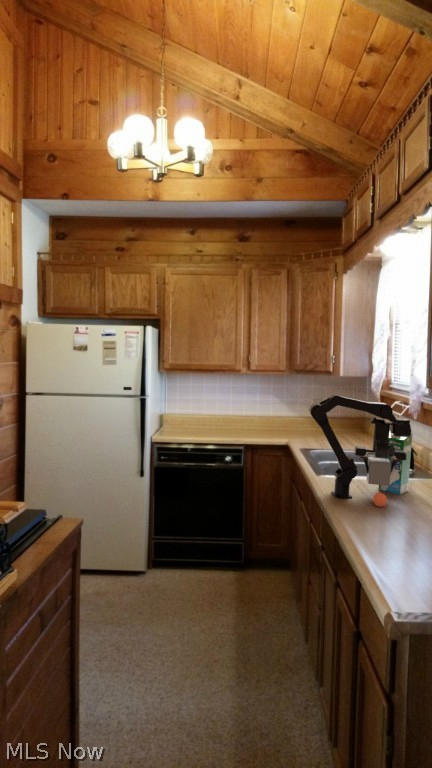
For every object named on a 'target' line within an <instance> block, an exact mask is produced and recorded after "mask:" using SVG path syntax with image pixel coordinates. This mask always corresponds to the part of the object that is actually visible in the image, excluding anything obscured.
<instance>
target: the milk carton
mask: <svg viewBox="0 0 432 768" xmlns="http://www.w3.org/2000/svg"><path fill="white" fill-rule="evenodd" d="M412 442H413V432H412V431H411V435H410V437H398V436H393V434H392V433H391V432H389V446H390V445H393V446H395V450H403V451H404V452H405V453H406V455H407V457H406V460H401V462H397V463H396V465H395V466H394V468H393V470H392V472H391V475H390V485H389V486H384V485H378V488H377V489H378V491H382V490H383V491H382V492H386V491H387V493H391V494H394V495H398V496H401V495H402V494H404V493H406V492H408V491H409V481H410V480H409V479H410V468H411V467H410V466H411V457H412V456H411V454H412V444H413V443H412ZM391 457H392V456H389V458H383V459H389V461H390V459H391ZM380 458H382V457H380Z"/></svg>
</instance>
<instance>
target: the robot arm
mask: <svg viewBox="0 0 432 768" xmlns="http://www.w3.org/2000/svg"><path fill="white" fill-rule="evenodd" d="M337 406H339V407H345V408H349V409H352V410H357V411H361V412H365V413H367V414H371V415H373V418H371V419H370V420H369V421H368V422H369V423H370V424H371V425H372V424H373V425H374V426H373V439H372V449H370V448H369V449H367V448H366V446H361V445H360V446H359V445H356V446H355V447H354V455H355V456H356V457H357V456H359V458H360V459H362V460H363V463H364V466H365V471H366V475H367V474H368V457H369V456H368V455H374V456H375V458H381V457H382V458H389V456H392V457H391V459H390V462H391V472H392V470H393V468H394V466H395V465H396V463H397V462H401V460H406V457H407V455H406V453H405V452H404V451H403V450H395V446H393V445H390V446H389V432H391V433H392V434H393V436H398V437H410V435H411V432H412V426H411V420H410V419H408V418H407V419H398V418H396V416H395V415H394V413H393V412H394V411H393V408H392V406H391V405H389V404H387V403H385V402H377V401H376V402H375V401H373V402H372V401H363V400H360V399H355V398H350V397H345V396H342V395H339V394H332V395H331V396H330V397H328V398H326V399H324V400H322V401H320V402H315V403H312V405H310V406H309V410H308V411H309V415H310V416H311V417H312V418H313V420H314V421H315V423H316V424H317V425H318V426H319V427H320V429H321V431H322V433H323V435H324V436H325V438H326V441H327V442H328V444H329V446H330V448H331V450H332V452H333V453H334V456H335V457H336V461H337V464H338V469H336V470H335V471H334V472H333V474H334V477H335V480H334V491H330V493H331V494H332V495H333V496H334V497H335V498H336V499H352V498H353V496H352V495H351V494H350V489H351V488H350V486H351V484H352V481H353V479H355V478H356V477H357V475H358V465H357V464H356V462H355V461H354V458H353V457H352V455H348V456H347V454H346V453H345V451H344V449H343V448H342V445H341V443H340V442H339V440H338V438H337V436H336V434H335V432H334V430H333V428H332V426H331V424H330V422H329V417H328V414H327V413H329V412H330V411H331V410H333V409H335V408H336V407H337ZM376 417H378V418H376ZM379 418H380V419H379ZM386 420H387V421H386ZM390 475H391V473H390Z"/></svg>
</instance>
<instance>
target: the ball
mask: <svg viewBox="0 0 432 768" xmlns="http://www.w3.org/2000/svg"><path fill="white" fill-rule="evenodd" d="M372 502H373V503H374V505H375V506H377V507H379V508H380V507H381V508H382V507H384V506H386V505H387V503H388V498H387V496H386V495H385V494H384V493H382V492H377V493H375V494H374V495H373V496H372Z"/></svg>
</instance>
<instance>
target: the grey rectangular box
mask: <svg viewBox="0 0 432 768" xmlns="http://www.w3.org/2000/svg"><path fill="white" fill-rule="evenodd" d="M390 473H391V462H390V461H389V459H383V458H381V457H380V458H378V457H371V456H368V474H367V473H366V482H367V484H369V485H377V486H379V485H384V486H389V485H390Z"/></svg>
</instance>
